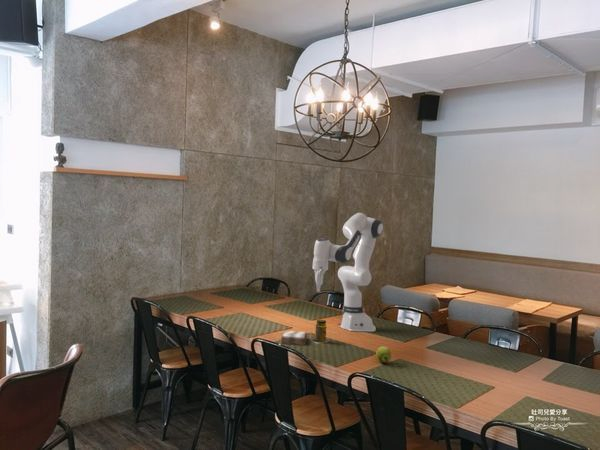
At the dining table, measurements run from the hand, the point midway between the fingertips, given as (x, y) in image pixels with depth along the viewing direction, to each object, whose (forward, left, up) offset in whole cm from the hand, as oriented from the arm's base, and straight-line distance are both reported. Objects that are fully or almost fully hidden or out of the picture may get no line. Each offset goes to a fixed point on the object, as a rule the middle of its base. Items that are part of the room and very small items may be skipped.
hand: (318, 290), depth 285 cm
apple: (-36, +30, -29) cm, 55 cm away
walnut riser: (+12, +3, -29) cm, 31 cm away
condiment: (-2, 0, -29) cm, 29 cm away
